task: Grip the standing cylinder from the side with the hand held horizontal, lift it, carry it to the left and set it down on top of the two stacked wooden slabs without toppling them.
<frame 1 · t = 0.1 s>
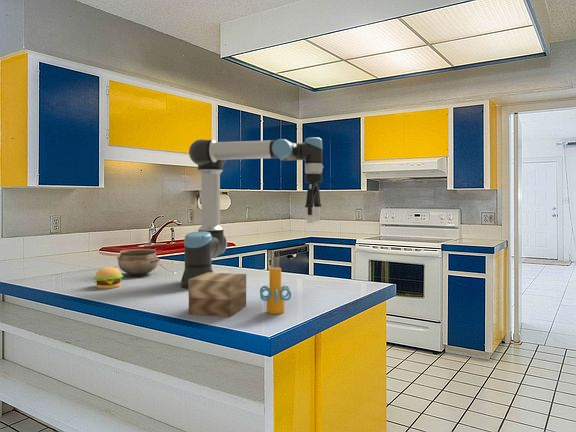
hand: (313, 222, 201), 28 cm above the countertop, tool pointing down, fingers open, 13 cm apart
tower base: (218, 310, 159), on the countertop, touching tower top
hamburger: (108, 287, 200), on the countertop
cooking pot: (138, 275, 229), on the countertop
cylinder: (275, 312, 156), on the countertop
tower top: (218, 293, 159), point 6 cm above the countertop, touching tower base
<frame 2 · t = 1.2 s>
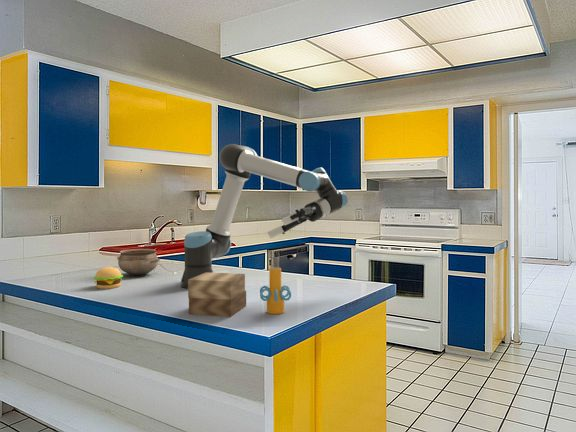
hand: (276, 228, 175), 27 cm above the countertop, tool tilted 70°, fingers open, 13 cm apart
nothing on the countertop moved.
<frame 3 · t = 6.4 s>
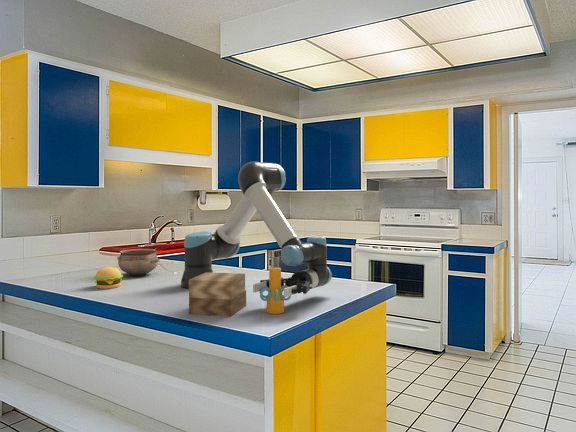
hand: (268, 290, 152), 8 cm above the countertop, tool horizontal, fingers closed on cylinder, 12 cm apart
tower base: (218, 310, 159), on the countertop
cylinder: (275, 312, 156), on the countertop, touching gripper
tower top: (218, 293, 159), point 6 cm above the countertop
everything else where it was.
when the fingers open (21 cm above the countertop, at t = 13.0 s): cylinder moves 1 cm, resting on tower top.
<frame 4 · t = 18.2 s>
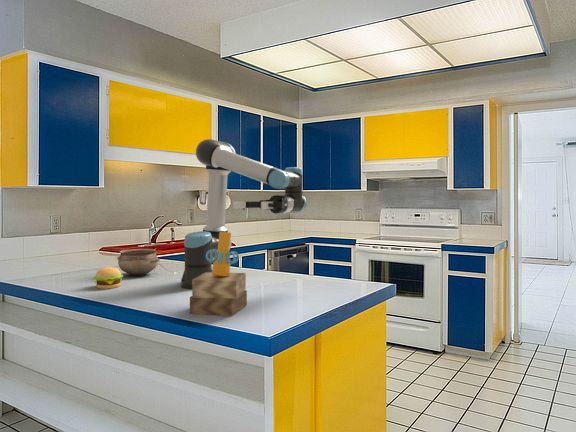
hand: (247, 205, 172), 36 cm above the countertop, tool horizontal, fingers open, 13 cm apart
tower base: (219, 310, 160), on the countertop, touching tower top
cylinder: (220, 275, 159), point 12 cm above the countertop, touching tower top
tower top: (220, 293, 160), point 6 cm above the countertop, touching cylinder, tower base
everything else where it was.
at the end: cylinder 0.4 cm from the tower top (horizontally); cylinder point 11.8 cm above the countertop; tower top tilted 0° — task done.
